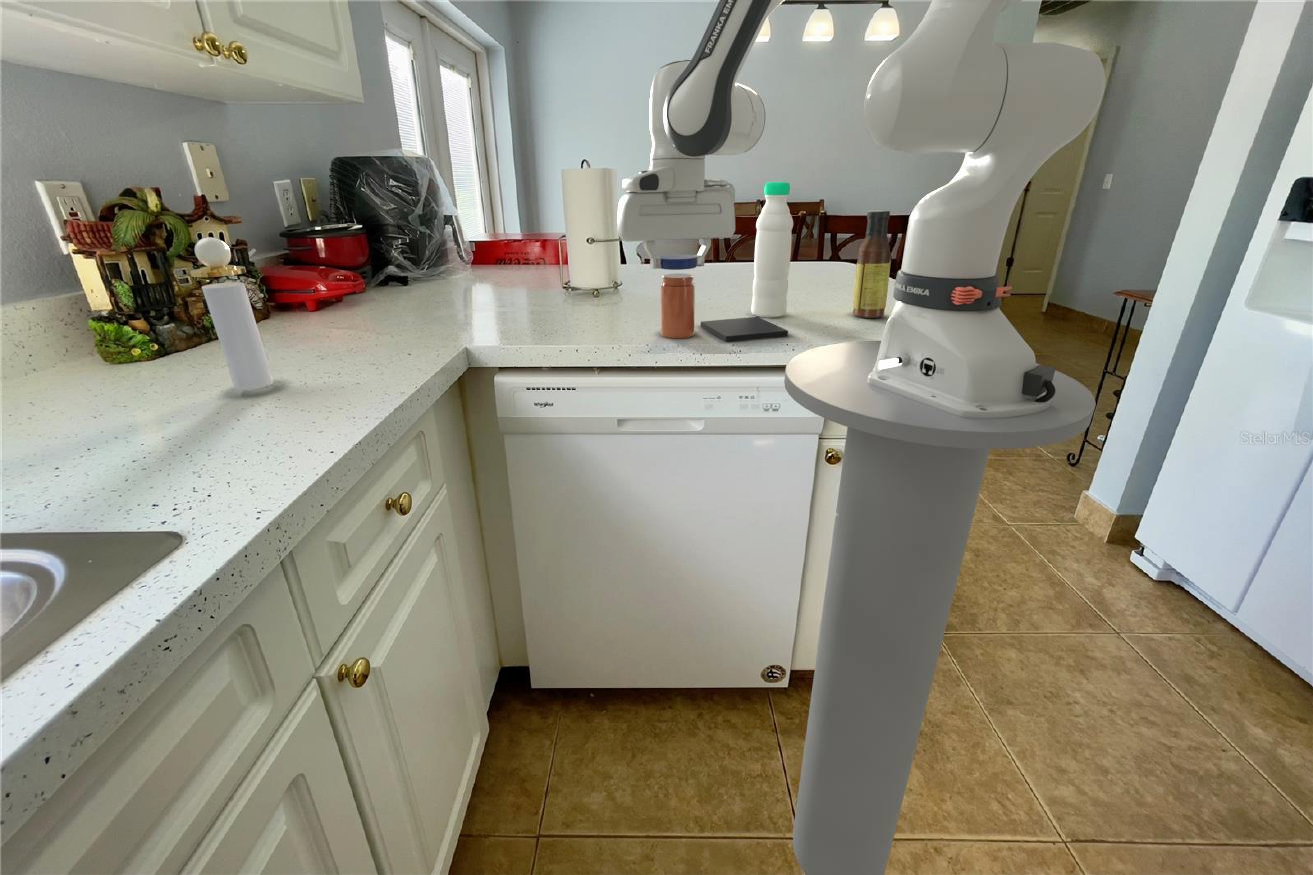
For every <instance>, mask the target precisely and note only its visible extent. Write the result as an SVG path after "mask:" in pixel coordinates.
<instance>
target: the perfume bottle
mask: <svg viewBox="0 0 1313 875" xmlns="http://www.w3.org/2000/svg"><path fill="white" fill-rule="evenodd" d="M194 255H195V257H196V258H197V260H198V261H199V262H200V263H201V264H202V265H203V267H200V268H197V269H193V270H190V271H189V273H190V275H191V277H193V278H219V277H228V276H235V275H236V276H237V275H242V274H245V273H247V268H246V266H243V265H234V264H230V262H231V259H232V252H231V249H230V247H229V246H228V244H226V242H224V241H223V240H221V239H219V238H216V237H214V236H213V237H211V236H207V237H203V238H201V239H199V240H198V241H196V243H195V245H194ZM201 290H202V293H203V296H204V298H202V299H201V302H202V305H203V309H204V311H205V314H206V315H208V317H209V320H210V321H212V323H213V327H214V330H215V333H216V336H217V338H218V341H219V342H218V343H219V345H220V348H221V351H222V354H223V357H224V360H225V363H226V366H227V369H228V373H229V375H230V378H231V382H232V385H233V388H234V389H235V390H237V391H249V390H250V391H251V390H256V389H261V388H264V387H267V386H270V385H272V384H273V383H274V378H273V375H272V372H271V369H270V365H269V362H268V359H267V355H266V352H265V348H264V345H263V342H262V337H261V334H260V331H259V328H258V325H257V322H256V318H255V315H254V311H253V308H252V305H251V301H250V298H249V294H248V291H247V288H246V285H245V282H239V281H236V282H235V281H231V282H217V283H210V284H206V285H202V286H201Z"/></svg>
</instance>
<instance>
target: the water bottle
mask: <svg viewBox="0 0 1313 875" xmlns="http://www.w3.org/2000/svg"><path fill="white" fill-rule="evenodd" d="M763 192H764V198H765V204H764V205H763V207H762V209H761V210H760V211H761V212H760V214H759V216H758V218H757V220H756V223H755V229H756V235H755V242H754V243H755V244H754V245H755V246H754V258H753V259H754V260H753V261H754V262H753V275H754V277H753V281H752V299H751V310H750V311H751V313H752V315H754V316H755V317H759V318H780V317H783V316H784V315H786V313H787V308H788V306H787V305H788V302H787V301H788V300H787V295H788V290H789V273H790V266H791V265H790V264H791V254H792V241H793V240H792V237H793V236H792V230H793V227H794V220H793V217H792V214H791V213H790V212H791V211H790V207H789V205H788V202H787V199H788V198H789V195H790V192H791V185H790V183H789V182H788V181H768V182H766V183H765V184H764V188H763Z"/></svg>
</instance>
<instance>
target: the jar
mask: <svg viewBox="0 0 1313 875" xmlns="http://www.w3.org/2000/svg"><path fill="white" fill-rule="evenodd" d="M695 306H696V283H695V282H694V275H693V274H692V273H691V274H690V273H682V272H681V273H678V272H676V273H665V274H663V275H662V283H660V335H661V336H662V337H663V338H667V339H687V338H692V337H694V335H695V314H696V312H695V310H696V309H695V308H696V307H695Z"/></svg>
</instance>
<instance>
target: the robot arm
mask: <svg viewBox="0 0 1313 875" xmlns="http://www.w3.org/2000/svg"><path fill="white" fill-rule="evenodd" d="M785 1H786V0H718V3H717V5H716V7H715V10H714V11H713V13H712V16H711V18H710V21H709V22H708V25H707V27H706V28H705V31H704V33H703V36H702V38H701V40H700V42H699V44H698V46H697V48H696V51H695V53H694V55H693V56H692V58H691V59H684V60H676V61H672V62H669V63H667V64H665V65H663V66H661V67H660V68H659V69H657V71H656V72H655V74H654V75H653V79H652V83H651V88H650V97H649V133H650V136H651V142H652V144H651V146H652V147H651V152H650V158H649V161H650V162H649V168H648V169H646V170H642V171H639V172H638V173H635V174H633V175H630V176H627V177H624V178H623V180H622V182H621V186H622V191H623V192H625V193H624V194H623V195H622V196H621V198H620V199H619V202H618V207H617V220H616V221H617V222H616V223H617V224H616V228H617V229H616V232H617V236H618V237H619V238H620V240H621V241H623V242H628V243H629V242H642V243H643V249H644V250H645V253H646V254H647V256H648V257H649V267H650V269H652V270H662V269H661V262H662V261H661V258H659V257H660V256H657V255H656V253H655V252H654V249H653V248H656V241H676V240H678V241H679V240H698V245H699V246H700V248H699V250H698V251H697V254H694V256H696V257H697V266H696V268H697V267H698V268H699V267H704V266H705V256H707V253H708V252H709V250H710V248H711V246H712V239H728V238H732V237H733V235H734V233H735V232H736V214H735V213H736V212H735V201H736V189H735V186H734V185H733V183H731V182H729V181H728V180H727V179H705V174H706V173H705V172H706V171H705V166H706V162H705V159H706V156H737V155H740V154H743V153H746V152H748V151H750V150H752V149H753V148H754V147H755V146H756V145H757V144H758V143H759V140H760V139H761V137H762V136H763V132H764V130H765V125H766V109H765V105H764V103H763V100H762V98H761V97H760V96H759V94H758V93H757V92H755V91H754V90H752V89H751V88H750V87H748V86H746V85H743V84H741V83H738V82H737V80H738V77H739V75H740V72H741V71H742V69H743V67H744V65H745V63H746V60H747V58H748V57H749V55H750V53H751V50H752V48H753V47H754V45H755V42H756V41H757V38H758V37H759V34H760V32H761V30H762V28H763V26H764V25H765V23H766V21H767V19H768V18H769V16H771V14H772V13H773V12H774V11H775V9H776V8H778V6H779V5H781V4H782V3H783V2H785ZM1020 2H1022V0H931V2H930V5H929V7H928V9H927V11H926V13H925V15H924V16H923V18H922V20H921V21H920V23H919V24H918V26H917V27H916V29H915V30H914V31H913V33H912V34H911V35H910V36H909V37H908V38H907V40H905V42H903V43H902V44H901V45H900V46H899V47H898V48H897V49H895V50H894V51H893V52H891V53H890V54H889V55H888V56H887V57H886V58H885V59H884V60H883V61H882V62H881V64H880V65H879V66H878V67H877V68H876V70H875V72H874V73H873V75H872V77H871V79H870V81H869V83H868V85H867V89H866V92H865V96H864V101H863V119H864V124H865V128H866V130H867V132H868V135H869V137H870V138H871V140H872V141H873V143H874V144H875V145H876V146H878V147H882V148H885V149H890V150H893V151H897V152H898V151H899V152H905V153H910V154H964V158H963V161H962V164H961V166H960V168H959V169H958V172H957V173H956V174H955V176H954V177H953V178H952V179H951V181H949V182H948V183H947V184H945V185H943V186H941V187H939V188H937V189H935V190H933V191H931V192H930V193H928V194H926V195H925V196H924V197H922V198H921V199H920V200H919V201H918V203H916V205H914V207H913V209H912V211H911V213H910V215H909V218H908V222H907V223H908V224H907V230H906V235H905V242H904V248H903V254H902V263H901V268H900V269H899V270H898V271H897V272H896V276H895V277H896V278H895V280H894V284H893V287H894V289H893V295H892V297H893V298H894V300H895V302H894V306H893V308H892V311H891V313H890V315H889V317H888V319H887V321H886V324H885V325H884V330H883V333H882V338H881V340H880V341H881V345H880V349H879V353H878V357H877V360H876V364H875V366H874V369H873V372H871V373H870V374H869V376H868V380H867V383H869V384H871V385H873V386H876V387H879V388H882V389H884V390H887V391H890V392H893V393H895V394H898V395H901V396H904V397H906V398H909V399H912V400H915V401H917V402H920V403H923V404H926V405H928V406H931V407H934V408H937V409H939V410H942V411H945V412H948V413H950V414H953V415H956V416H959V417H964V418H978V419H994V418H1008V417H1016V416H1023V415H1029V414H1033V413H1037V412H1041V411H1044V410H1046V409H1047V408H1049V407H1050V406H1051V402H1052V398H1053V396H1054V395H1055V391H1056V390H1055V386H1054V385H1053V383H1052V380H1053V377H1054V373H1055V370H1056V369H1057V368H1056V367H1054V366H1053V367H1052V366H1048V365H1043V364H1040V365H1038V366H1036V363H1037V361H1036V354H1035V352H1034V351H1033V349H1032V347H1030V346H1029V344H1028V343H1027V342H1026V341H1025V340H1024V338H1023V337H1022V335H1021V334H1020V332H1018V331H1017V329H1016V328H1015V327H1014V326H1013V324H1012V323H1011V322H1010V320H1009V319H1008V318H1007V316H1006V315H1005V314H1004V313H1003V311H1002V310H1001V309H1000V307H1001V306H1002V297H1010V296H1012V295H1011V293H1004V292H1007V291H1011V290H1012V289H1013V287H1012V286H1000V280H999V276H998V275H997V273H996V272H997V268H998V264H999V259H1000V256H1001V253H1002V252H1001V251H1002V248H1003V245H1004V241H1005V237H1006V233H1007V230H1008V227H1009V223H1010V220H1011V217H1012V214H1013V211H1014V209H1015V206H1016V205H1017V202H1018V201H1019V198H1020V196H1021V195H1022V193H1023V192H1024V190H1025V188H1026V187H1027V185H1028V183H1029V182H1030V181H1031V179H1032V178H1033V177H1034V176H1035V174H1036V173H1037V172H1038V170H1040V169H1041V167H1042V166H1043V165H1044V164H1045V162H1047V161H1048V160H1049V159H1050V158H1051V157H1052V156H1053V155H1054V154H1055V153H1056V152H1058V151H1059V150H1060V149H1062V148H1063V147H1064V146H1066V145H1068V144H1069V143H1070V142H1072V141H1073V140H1074V139H1076V138H1077V137H1078V136H1079V135H1081V133H1082V132H1084V130H1086V128H1087V127H1088V126H1089V124H1090V123H1091V121H1092V120H1093V119H1094V117H1095V116H1096V114H1097V112H1098V110H1099V108H1100V106H1101V104H1102V101H1103V98H1104V94H1105V87H1106V73H1105V67H1104V65H1103V62H1102V60H1101V57H1100V56H1099V55H1098V54H1097V53H1096V52H1094V51H1091V50H1089V49H1085V48H1081V47H1077V46H1073V45H1068V44H1064V43H1059V42H1053V41H1050V42H1046V41H1045V42H996V41H994V32H995V28H996V24H997V21H998V18H999V15H1000V14H1001V13H1003V12H1004V11H1006V10H1008V9H1010V8H1011V7H1013V6H1015V5H1017V4H1019V3H1020ZM1056 371H1057V370H1056ZM1046 391H1047V392H1046ZM1044 392H1046V394H1045V393H1044Z"/></svg>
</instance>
